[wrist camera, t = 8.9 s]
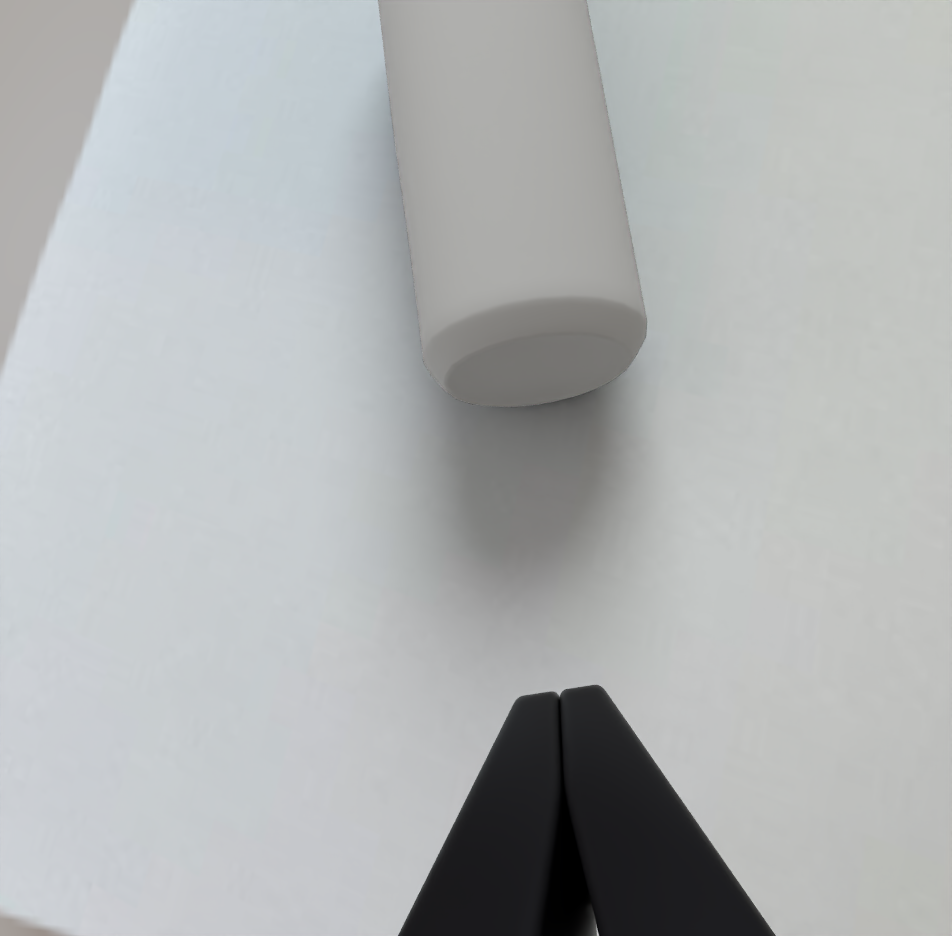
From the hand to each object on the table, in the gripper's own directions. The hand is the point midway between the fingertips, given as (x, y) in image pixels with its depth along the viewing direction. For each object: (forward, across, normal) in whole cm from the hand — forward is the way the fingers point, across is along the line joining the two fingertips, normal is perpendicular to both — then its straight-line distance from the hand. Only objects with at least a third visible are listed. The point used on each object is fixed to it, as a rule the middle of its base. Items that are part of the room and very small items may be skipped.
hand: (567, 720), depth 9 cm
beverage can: (+11, 0, +1) cm, 11 cm away
